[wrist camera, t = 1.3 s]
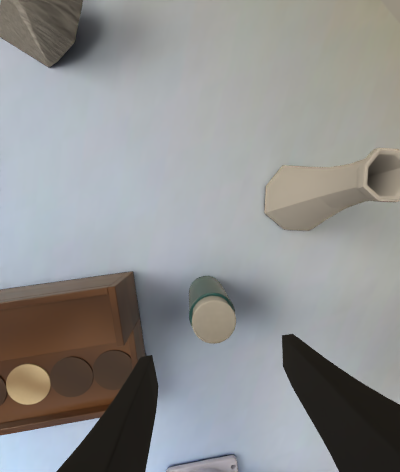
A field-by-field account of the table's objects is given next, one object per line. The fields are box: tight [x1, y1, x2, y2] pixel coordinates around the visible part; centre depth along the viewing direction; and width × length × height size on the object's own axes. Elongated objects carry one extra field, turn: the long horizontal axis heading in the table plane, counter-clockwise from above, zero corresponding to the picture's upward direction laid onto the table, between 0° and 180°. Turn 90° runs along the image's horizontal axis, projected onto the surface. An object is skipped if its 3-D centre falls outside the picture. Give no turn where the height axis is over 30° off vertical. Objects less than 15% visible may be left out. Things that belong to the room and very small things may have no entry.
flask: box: [265, 148, 400, 231], centre depth 16 cm, size 7×7×10 cm
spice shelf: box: [0, 271, 146, 435], centre depth 18 cm, size 13×17×5 cm
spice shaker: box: [189, 276, 236, 343], centre depth 18 cm, size 4×4×6 cm
